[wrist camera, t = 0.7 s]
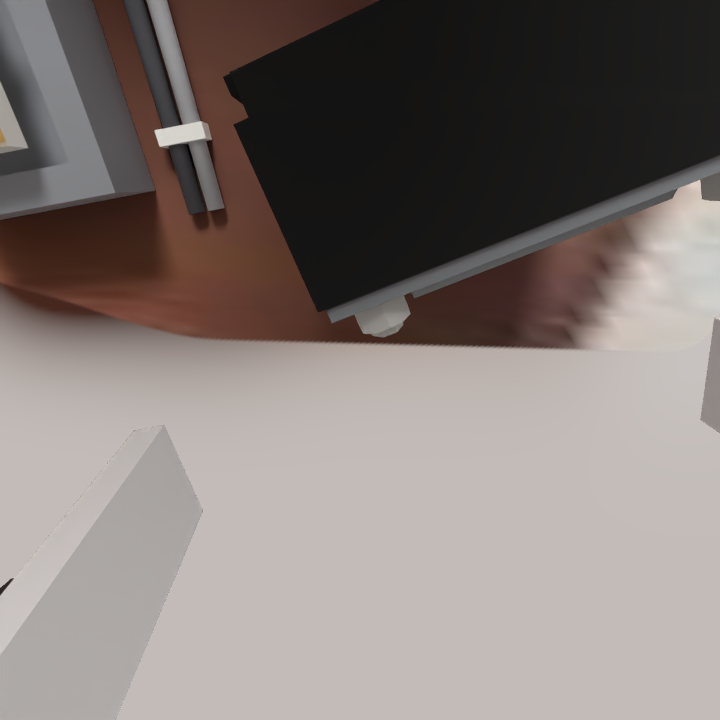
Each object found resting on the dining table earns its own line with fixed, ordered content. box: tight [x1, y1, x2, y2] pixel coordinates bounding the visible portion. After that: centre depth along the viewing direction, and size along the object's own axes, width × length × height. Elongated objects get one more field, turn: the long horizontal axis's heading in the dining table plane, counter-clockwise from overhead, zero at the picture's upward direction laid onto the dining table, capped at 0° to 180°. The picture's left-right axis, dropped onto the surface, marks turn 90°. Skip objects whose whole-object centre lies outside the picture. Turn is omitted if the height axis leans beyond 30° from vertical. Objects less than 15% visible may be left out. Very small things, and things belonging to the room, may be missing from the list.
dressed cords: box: [123, 0, 225, 215], centre depth 27 cm, size 24×3×2 cm, turn 10°
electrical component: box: [223, 0, 720, 337], centre depth 22 cm, size 18×10×20 cm, turn 112°
